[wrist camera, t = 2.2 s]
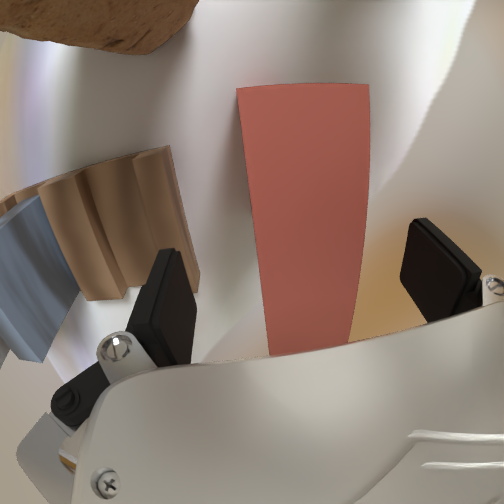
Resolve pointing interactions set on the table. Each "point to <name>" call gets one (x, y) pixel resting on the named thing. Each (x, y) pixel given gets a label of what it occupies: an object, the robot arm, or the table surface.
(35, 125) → the table surface
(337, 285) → the book
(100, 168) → the book stand
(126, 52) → the block
